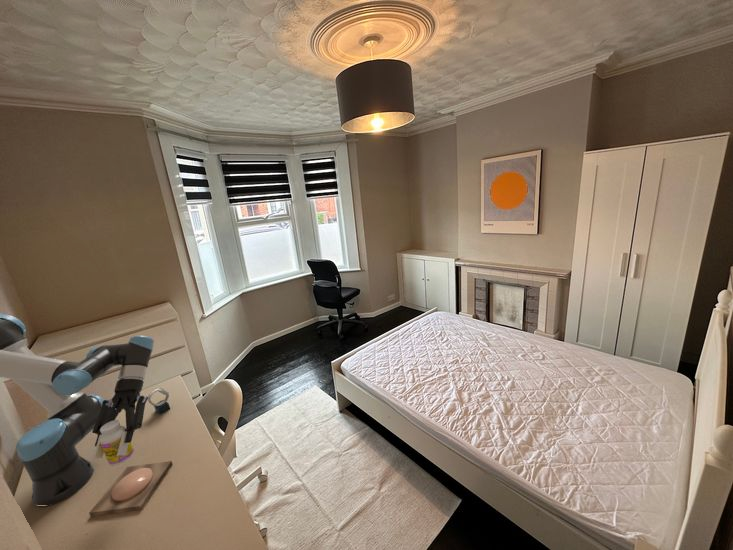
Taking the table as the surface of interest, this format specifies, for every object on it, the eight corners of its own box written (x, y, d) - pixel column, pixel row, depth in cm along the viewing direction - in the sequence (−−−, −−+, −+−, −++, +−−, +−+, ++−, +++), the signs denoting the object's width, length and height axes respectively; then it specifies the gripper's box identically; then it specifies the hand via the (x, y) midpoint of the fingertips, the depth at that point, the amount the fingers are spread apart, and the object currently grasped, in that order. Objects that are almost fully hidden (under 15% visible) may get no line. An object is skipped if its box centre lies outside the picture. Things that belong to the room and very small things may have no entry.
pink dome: (103, 503, 93) (102, 501, 93) (129, 472, 104) (128, 470, 103) (138, 498, 93) (137, 496, 93) (160, 468, 104) (159, 465, 103)
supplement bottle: (104, 469, 92) (90, 436, 88) (116, 452, 98) (102, 421, 94) (129, 462, 93) (115, 429, 90) (138, 446, 99) (126, 415, 96)
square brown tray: (90, 516, 91) (88, 512, 90) (128, 470, 106) (127, 466, 106) (142, 509, 91) (140, 505, 91) (172, 464, 107) (171, 461, 106)
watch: (174, 406, 139) (168, 386, 137) (155, 417, 133) (148, 396, 130) (170, 402, 143) (163, 383, 140) (151, 412, 137) (143, 392, 134)
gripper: (166, 378, 106) (149, 452, 94) (111, 385, 105) (87, 460, 94) (152, 374, 99) (132, 453, 88) (93, 381, 99) (66, 461, 87)
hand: (109, 456), depth 91 cm, fingers closed on supplement bottle, 7 cm apart
